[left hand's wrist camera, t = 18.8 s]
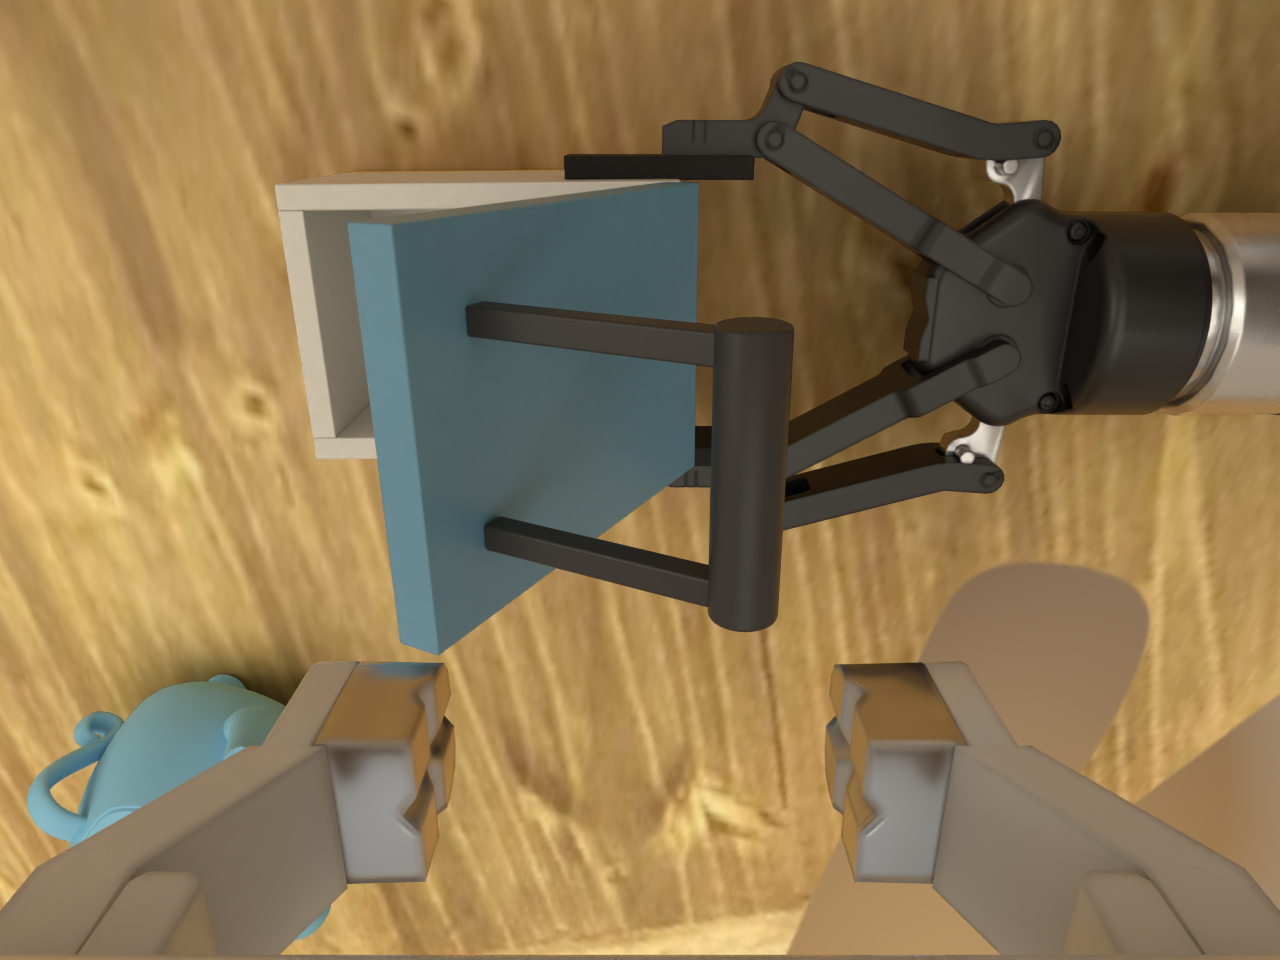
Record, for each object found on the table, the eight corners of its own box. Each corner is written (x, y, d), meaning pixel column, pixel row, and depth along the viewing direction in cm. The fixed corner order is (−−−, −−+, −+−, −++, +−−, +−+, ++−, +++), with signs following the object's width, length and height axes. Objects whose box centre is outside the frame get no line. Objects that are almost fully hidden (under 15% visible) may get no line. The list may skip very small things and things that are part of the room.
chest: (378, 394, 41) (315, 460, 33) (351, 171, 38) (273, 183, 30) (671, 392, 41) (679, 457, 33) (673, 168, 37) (682, 180, 29)
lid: (399, 643, 21) (730, 754, 17) (345, 221, 18) (748, 244, 14) (665, 460, 33) (900, 503, 29) (666, 181, 29) (935, 188, 25)
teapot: (173, 837, 51) (60, 1025, 41) (85, 632, 46) (-72, 792, 35) (388, 818, 51) (328, 1004, 41) (327, 609, 45) (240, 765, 35)
